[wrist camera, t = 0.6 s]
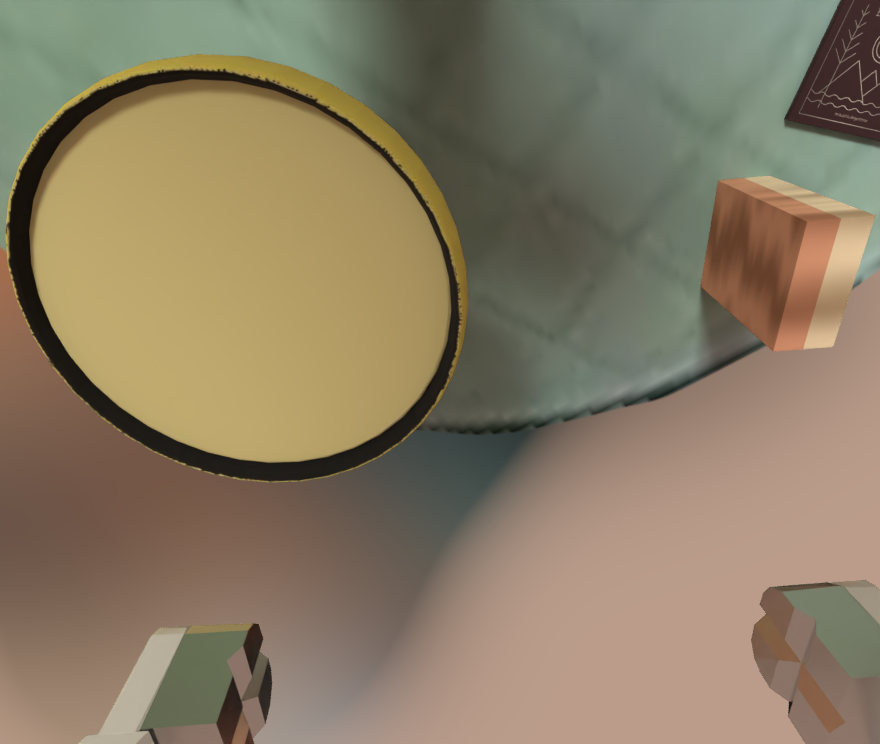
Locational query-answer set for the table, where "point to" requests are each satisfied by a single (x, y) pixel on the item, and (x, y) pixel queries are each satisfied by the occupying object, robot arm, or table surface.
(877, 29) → the chocolate bar
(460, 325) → the cocktail glass
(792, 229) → the tan wooden block
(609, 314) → the table surface
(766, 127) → the table surface
